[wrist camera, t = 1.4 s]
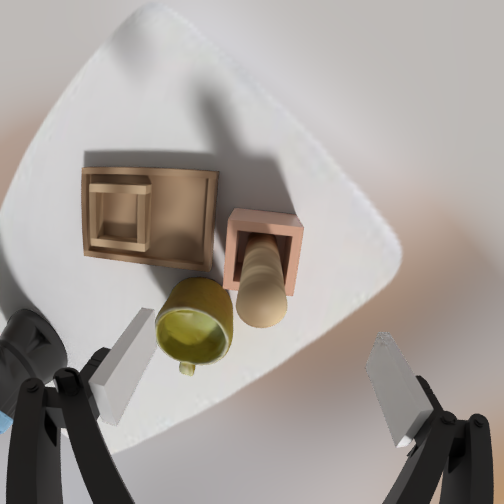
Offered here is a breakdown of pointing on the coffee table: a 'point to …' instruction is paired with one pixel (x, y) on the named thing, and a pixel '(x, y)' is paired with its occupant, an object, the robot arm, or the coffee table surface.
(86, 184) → the tray
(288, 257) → the pink hollow box
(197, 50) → the coffee table surface
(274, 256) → the dowel
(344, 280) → the coffee table surface
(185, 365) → the mug
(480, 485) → the robot arm
